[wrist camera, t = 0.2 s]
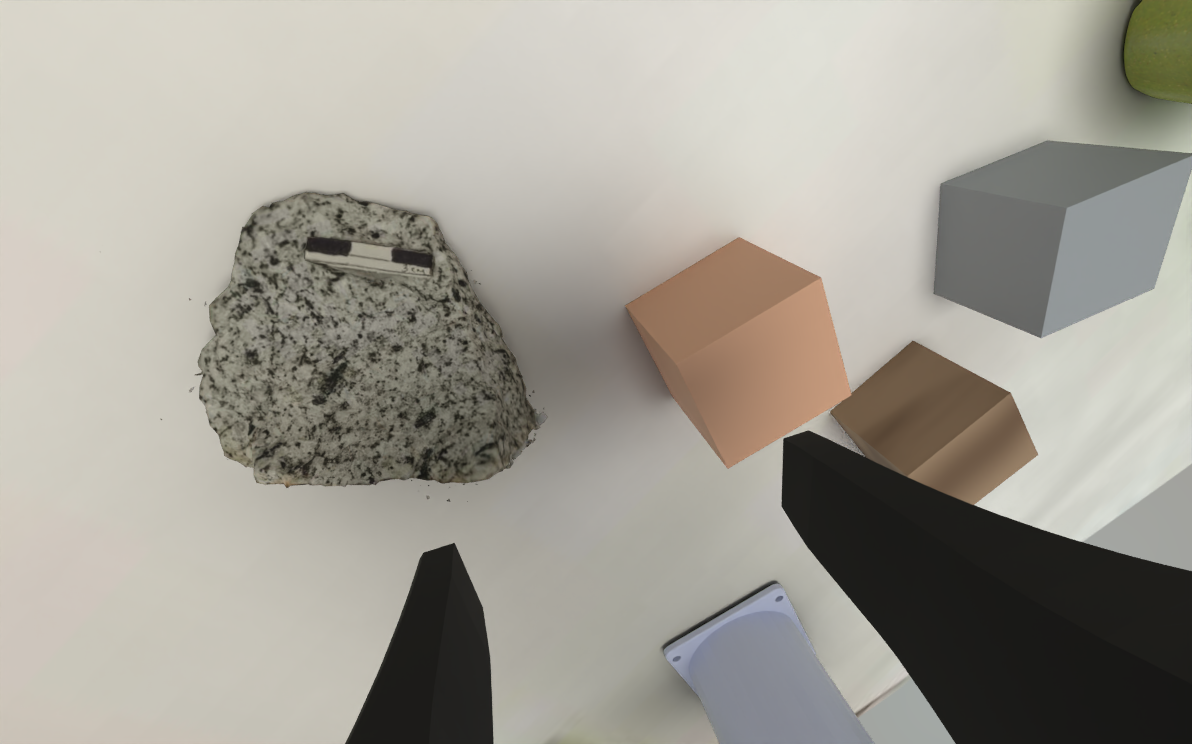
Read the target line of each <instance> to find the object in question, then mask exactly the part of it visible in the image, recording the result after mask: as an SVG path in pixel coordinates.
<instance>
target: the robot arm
mask: <svg viewBox="0 0 1192 744" xmlns="http://www.w3.org/2000/svg"><path fill="white" fill-rule="evenodd" d="M782 508H783V509H784V511H785V513H786V514H787V516H788V518H789V519H790V521H791V522H792V524H793V526H794V527H795V529H796V530H797V532H798V533H799V535H800V536H801V538H802V539H803V541H804V542H805V544H806V546H807V547H808V548H809V549H810V551H811V552H812V553H813V554H814V556H815V557H816V558H817V559H818V561H819V562H820V563H821V564H822V566H823V567H824V568H825V569H826V570H827V572H828V573H829V574H830V575H831V577H832V578H833V579H834V580H835V581H836V583H837V584H838V585H839V586H840V587H841V589H842V590H843V591H844V592H845V593H846V595H847V596H848V597H849V598H850V599H851V601H852V602H853V603H854V604H855V605H856V607H857V608H858V609H859V610H860V611H861V613H862V614H863V615H864V616H865V617H866V619H867V620H868V621H869V622H870V623H871V625H872V626H873V627H874V628H875V629H876V631H877V632H878V633H879V634H880V635H881V637H882V638H883V639H884V641H885V642H886V643H887V644H888V646H889V647H890V648H891V650H892V651H893V652H894V654H895V655H896V656H897V658H898V659H899V660H900V662H901V663H902V665H903V666H904V668H905V669H906V670H907V672H908V673H909V675H910V676H911V678H912V679H913V681H914V682H915V684H916V685H917V686H918V688H919V689H920V691H921V692H922V693H923V695H924V696H925V698H926V699H927V701H928V702H929V704H930V705H931V707H932V708H933V710H934V711H935V713H936V714H937V716H938V717H939V719H940V720H941V722H942V723H943V725H944V726H945V728H946V730H947V731H948V733H949V734H950V735H951V737H952V739H953V740H954V742H955V743H956V744H1192V571H1188V570H1184V569H1180V568H1176V567H1172V566H1167V565H1163V564H1159V563H1155V562H1151V561H1147V560H1143V559H1140V558H1136V557H1132V556H1128V555H1125V554H1121V553H1117V552H1114V551H1111V550H1107V549H1104V548H1100V547H1097V546H1093V545H1090V544H1086V543H1083V542H1079V541H1076V540H1073V539H1069V538H1066V537H1063V536H1060V535H1057V534H1053V533H1050V532H1047V531H1044V530H1041V529H1038V528H1035V527H1033V526H1030V525H1027V524H1024V523H1021V522H1018V521H1015V520H1012V519H1009V518H1007V517H1004V516H1001V515H998V514H995V513H993V512H990V511H987V510H985V509H982V508H980V507H977V506H975V505H972V504H970V503H967V502H965V501H962V500H960V499H957V498H955V497H952V496H950V495H948V494H945V493H943V492H940V491H938V490H936V489H933V488H931V487H929V486H926V485H924V484H922V483H920V482H917V481H915V480H913V479H911V478H908V477H906V476H904V475H902V474H900V473H898V472H895V471H893V470H891V469H889V468H887V467H885V466H883V465H881V464H878V463H876V462H874V461H872V460H870V459H868V458H866V457H864V456H862V455H860V454H858V453H855V452H853V451H851V450H849V449H847V448H845V447H843V446H841V445H839V444H837V443H835V442H833V441H831V440H828V439H826V438H824V437H822V436H820V435H818V434H815V433H813V432H811V431H806V432H803V433H799V434H796V435H793V436H790V437H787V438H784V439H783V475H782ZM664 655H665V658H666V659H667V661H668V662H669V663H670V664H671V665H672V666H673V667H674V669H675V670H676V671H677V672H678V673H679V674H680V676H681V677H682V678H683V679H684V680H685V681H686V683H687V684H688V685H689V686H690V687H691V688H692V690H693V691H694V692H695V693H696V694H697V695H698V696H699V698H700V700H701V702H702V704H703V707H704V709H705V711H706V714H707V716H708V718H709V721H710V723H711V725H712V728H713V730H714V732H715V734H716V737H717V739H718V741H719V744H875V743H874V742H873V741H872V739H871V737H870V736H869V734H868V733H867V731H866V730H865V728H864V727H863V725H862V724H861V722H860V721H859V720H858V718H857V716H856V715H855V713H854V712H853V710H852V709H851V707H850V706H849V704H848V703H847V701H846V700H845V698H844V697H843V695H842V694H841V692H840V691H839V690H838V688H837V687H836V685H835V684H834V682H833V681H832V679H831V678H830V676H829V675H828V673H827V672H826V670H825V669H824V667H823V666H822V664H821V663H820V661H819V660H818V658H817V657H816V652H815V650H814V648H813V646H812V644H811V642H810V640H809V638H808V636H807V634H806V632H805V630H804V628H803V626H802V624H801V622H800V620H799V618H798V616H797V614H796V612H795V610H794V608H793V606H792V604H791V602H790V600H789V598H788V596H787V594H786V592H785V590H784V589H783V587H782V586H781V585H780V584H773V585H771V586H769V587H767V588H766V589H764V590H762V591H761V592H759V593H757V594H755V595H754V596H752V597H750V598H749V599H747V600H745V601H744V602H742V603H740V604H738V605H737V606H735V607H733V608H732V609H730V610H728V611H726V612H725V613H723V614H721V615H720V616H718V617H716V618H715V619H713V620H711V621H709V622H708V623H706V624H704V625H703V626H701V627H699V628H698V629H696V630H694V631H692V632H691V633H689V634H687V635H686V636H684V637H682V638H680V639H679V640H677V641H675V642H674V643H672V644H670V645H669V646H667V647H666V648H665V649H664ZM345 744H493V716H492V689H491V665H490V654H489V646H488V639H487V632H486V626H485V619H484V613H483V607H482V605H481V602H480V600H479V598H478V596H477V593H476V591H475V589H474V586H473V584H472V582H471V580H470V577H469V575H468V573H467V570H466V568H465V566H464V564H463V561H462V559H461V557H460V554H459V552H458V550H457V547H456V545H455V543H453V544H450V545H447V546H443V547H440V548H437V549H434V550H431V551H428V552H425V553H423V555H422V556H421V558H420V560H419V563H418V566H417V569H416V573H415V576H414V579H413V582H412V585H411V588H410V591H409V594H408V597H407V599H406V602H405V605H404V608H403V610H402V613H401V616H400V619H399V621H398V624H397V627H396V629H395V632H394V634H393V637H392V639H391V642H390V644H389V647H388V649H387V652H386V654H385V657H384V659H383V662H382V664H381V667H380V669H379V671H378V674H377V676H376V678H375V681H374V683H373V685H372V687H371V689H370V692H369V694H368V696H367V698H366V701H365V703H364V705H363V707H362V709H361V712H360V714H359V716H358V718H357V720H356V723H355V725H354V727H353V729H352V731H351V733H350V735H349V737H348V739H347V741H346V743H345Z"/></svg>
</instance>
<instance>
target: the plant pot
mask: <svg viewBox="0 0 1192 744" xmlns="http://www.w3.org/2000/svg"><path fill="white" fill-rule="evenodd" d="M1124 65H1125V72H1126V76H1127V78H1128V80H1129V83H1130V84H1131V86H1132V87H1133V88H1134V89H1136V90H1138V91H1140V92H1142V93H1144V94H1146V95H1149V96H1151V97H1154V98H1158V99H1164V100H1171V101H1177V102H1184V103H1191V104H1192V0H1142V1H1141V3H1140V4H1139V5H1138V6H1137V7H1136V8H1135V9H1134V11H1133V14H1132V16H1131V19H1130V22H1129V26H1128V29H1127V34H1126V39H1125V47H1124Z"/></svg>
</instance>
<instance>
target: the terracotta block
mask: <svg viewBox="0 0 1192 744" xmlns="http://www.w3.org/2000/svg"><path fill="white" fill-rule="evenodd" d="M625 306H626V308H627V310H628V312H629V314H630V316H631V318H632V320H633V322H634V324H635V326H636V327H637V329H638V331H639V333H640V335H641V337H642V339H643V341H644V343H645V345H646V347H647V349H648V350H649V352H650V354H651V356H652V358H653V360H654V362H655V364H656V366H657V368H658V370H659V372H660V373H661V375H662V377H663V379H664V381H665V383H666V385H667V387H668V389H669V391H670V393H671V395H672V397H673V398H674V399H675V401H676V402H677V403H678V405H679V406H680V407H681V409H682V410H683V411H684V413H685V414H686V415H687V416H688V418H689V419H690V420H691V422H692V423H693V424H694V426H695V427H696V428H697V429H698V431H699V432H700V433H701V435H702V436H703V437H704V439H705V440H706V441H707V442H708V444H709V445H710V446H711V448H712V449H713V450H714V452H715V453H716V454H717V455H718V457H719V458H720V459H721V461H722V462H723V463H724V465H725V466H726V467H727V469H728V468H730V467H732V466H733V465H735V464H737V463H738V462H740V461H742V460H743V459H745V458H747V457H748V456H750V455H752V454H754V453H755V452H757V451H759V450H760V449H762V448H764V447H765V446H767V445H769V444H770V443H772V442H774V441H775V440H777V439H779V438H781V437H782V436H784V435H786V434H787V433H789V432H791V431H792V430H794V429H796V428H797V427H799V426H801V425H802V424H804V423H806V422H808V421H809V420H811V419H813V418H814V417H816V416H818V415H819V414H821V413H823V412H824V411H826V410H828V409H829V408H831V407H833V406H835V405H836V404H838V403H840V402H841V401H843V400H845V399H846V398H848V397H850V396H851V391H850V387H849V383H848V380H847V376H846V372H845V368H844V364H843V360H842V356H841V353H840V349H839V345H838V341H837V337H836V333H835V329H834V326H833V322H832V318H831V314H830V310H829V306H828V302H827V299H826V295H825V291H824V287H823V283H822V279H821V277H819V276H817V275H815V274H813V273H811V272H809V271H806V270H804V269H802V268H800V267H798V266H796V265H794V264H792V263H790V262H788V261H786V260H784V259H782V258H780V257H778V256H776V255H774V254H772V253H770V252H768V251H766V250H764V249H762V248H760V247H758V246H756V245H754V244H752V243H750V242H748V241H746V240H744V239H742V238H740V237H739V238H737V239H735V240H734V241H732V242H730V243H729V244H727V245H725V246H724V247H722V248H720V249H719V250H717V251H715V252H714V253H712V254H710V255H709V256H707V257H705V258H704V259H702V260H700V261H699V262H697V263H695V264H694V265H692V266H690V267H689V268H687V269H685V270H684V271H682V272H680V273H679V274H677V275H675V276H674V277H672V278H670V279H669V280H667V281H665V282H664V283H662V284H660V285H659V286H657V287H655V288H654V289H652V290H650V291H649V292H647V293H645V294H644V295H642V296H640V297H639V298H637V299H635V300H634V301H632V302H630V303H629V304H627V305H625Z"/></svg>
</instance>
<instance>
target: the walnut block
mask: <svg viewBox="0 0 1192 744" xmlns="http://www.w3.org/2000/svg"><path fill="white" fill-rule="evenodd" d="M830 413H831V414H832V415H833V416H834V418H835V419H836V420H837V421H838V423H839V424H840V425H841V426H842V428H843V429H844V430H845V431H846V433H847V434H848V435H849V436H850V438H851V439H852V440H853V441H854V443H855V444H856V445H857V446H858V448H859V449H860V450H861V451H862V453H863V454H864V455H865V456H866V458H868V459H870V460H872V461H874V462H876V463H878V464H881V465H883V466H885V467H887V468H889V469H891V470H893V471H895V472H898V473H900V474H902V475H904V476H906V477H908V478H911V479H913V480H915V481H917V482H920V483H922V484H924V485H926V486H929V487H931V488H933V489H936V490H938V491H940V492H943V493H945V494H948V495H950V496H952V497H955V498H957V499H960V500H962V501H965V502H967V503H970V504H972V505H974V504H975V503H977V502H978V501H979V500H981V499H982V498H983V497H984V496H986V495H987V494H988V493H990V492H991V491H992V490H993V489H995V488H996V487H997V486H999V485H1000V484H1001V483H1002V482H1004V481H1005V480H1006V479H1008V478H1009V477H1010V476H1011V475H1013V474H1014V473H1015V472H1017V471H1018V470H1019V469H1020V468H1022V467H1023V466H1024V465H1026V464H1027V463H1028V462H1029V461H1031V460H1032V459H1033V458H1035V457H1036V456H1037V455H1038V453H1037V451H1036V449H1035V446H1034V444H1033V442H1032V440H1031V437H1030V435H1029V433H1028V431H1027V428H1026V426H1025V424H1024V422H1023V419H1022V417H1021V415H1020V413H1019V410H1018V408H1017V406H1016V404H1015V401H1014V399H1013V397H1012V395H1011V393H1010V392H1008V391H1006V390H1004V389H1002V388H1001V387H999V386H997V385H995V384H993V383H991V382H989V381H987V380H986V379H984V378H982V377H980V376H978V375H976V374H974V373H972V372H971V371H969V370H967V369H965V368H963V367H961V366H959V365H958V364H956V363H954V362H952V361H950V360H948V359H946V358H944V357H943V356H941V355H939V354H937V353H935V352H933V351H931V350H930V349H928V348H926V347H924V346H922V345H920V344H918V343H916V342H915V341H912V342H911V343H910V344H909V345H907V346H906V347H905V348H904V349H903V350H902V351H900V352H899V353H898V354H897V355H896V356H895V357H893V358H892V359H891V360H890V361H889V362H888V363H886V364H885V365H884V366H883V367H882V368H881V369H879V370H878V371H877V372H876V373H875V374H874V375H872V376H871V377H870V378H869V379H868V380H867V381H865V382H864V383H863V384H862V385H861V386H860V387H858V388H857V389H856V390H855V391H854V392H853V393H851V396H850V397H848V398H846V399H845V400H843V401H842V402H841V403H840V404H839V405H837V406H836V407H835V408H834V409H833V410H832V411H830Z"/></svg>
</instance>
